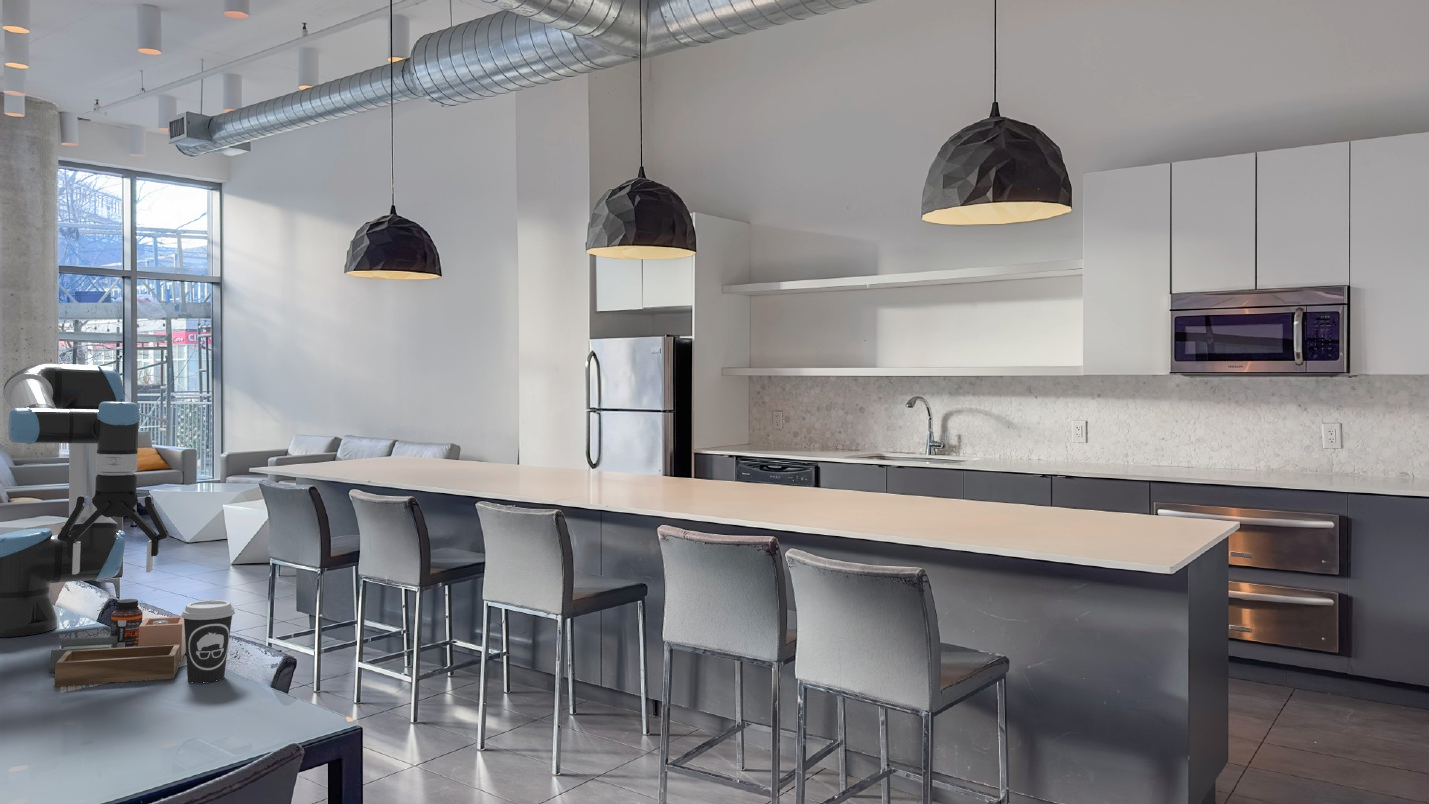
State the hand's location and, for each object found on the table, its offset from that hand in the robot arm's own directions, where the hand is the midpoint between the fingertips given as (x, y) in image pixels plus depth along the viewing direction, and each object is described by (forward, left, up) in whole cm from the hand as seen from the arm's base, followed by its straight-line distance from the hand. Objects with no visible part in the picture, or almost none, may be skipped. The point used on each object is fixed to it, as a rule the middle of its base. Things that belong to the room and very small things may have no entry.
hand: (112, 572), depth 207 cm
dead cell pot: (+4, +10, -18) cm, 21 cm away
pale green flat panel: (+5, -4, -16) cm, 17 cm away
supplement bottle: (-4, +2, -18) cm, 19 cm away
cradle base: (+5, -4, -18) cm, 19 cm away
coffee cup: (+23, +20, -18) cm, 36 cm away
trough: (+16, +4, -18) cm, 25 cm away
